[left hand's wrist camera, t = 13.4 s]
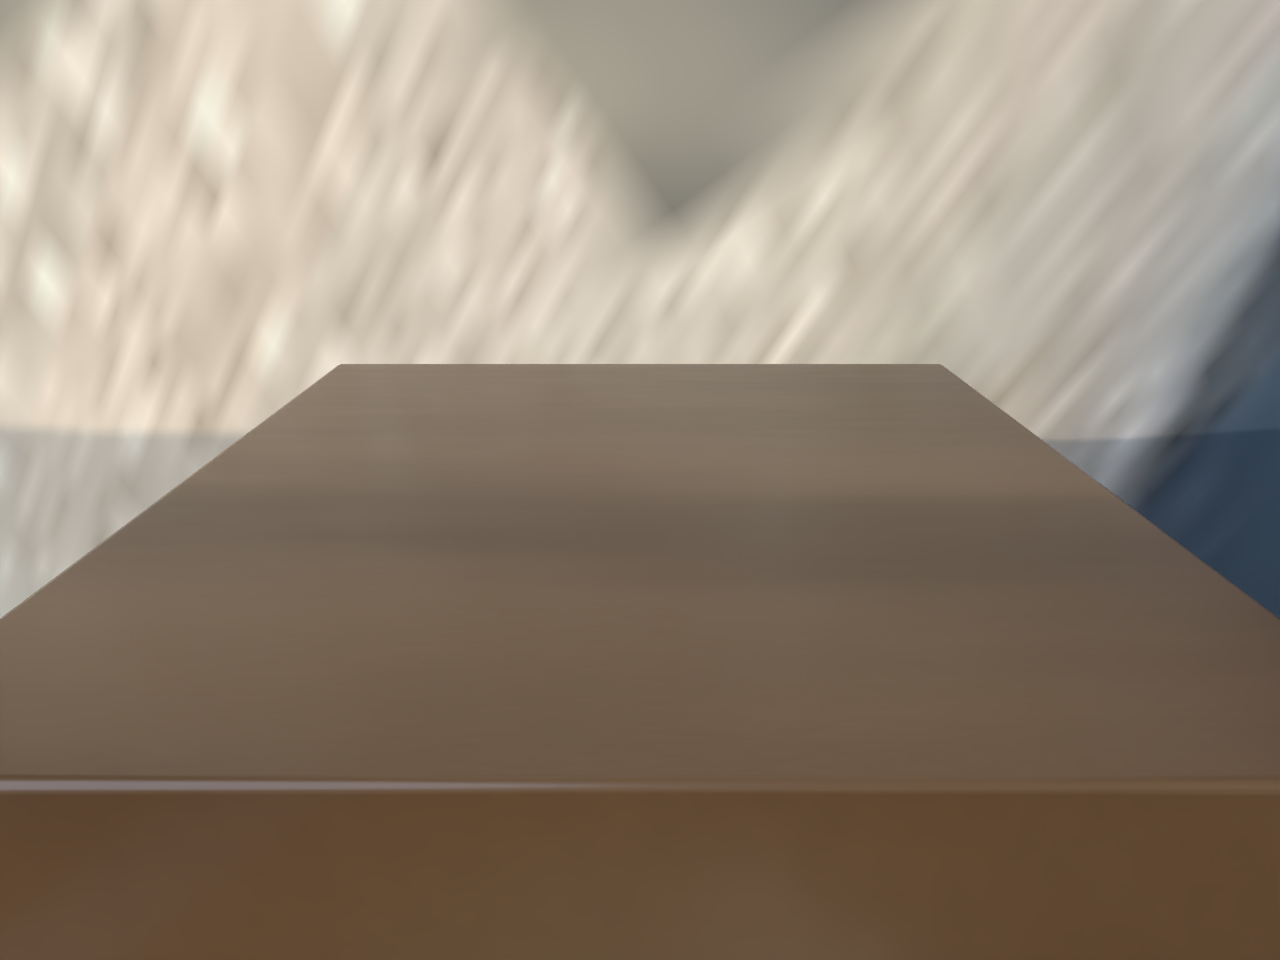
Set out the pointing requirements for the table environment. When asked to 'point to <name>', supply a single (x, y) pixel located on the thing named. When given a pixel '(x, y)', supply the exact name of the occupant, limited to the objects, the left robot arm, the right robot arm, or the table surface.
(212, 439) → the table surface
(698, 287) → the table surface
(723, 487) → the box
